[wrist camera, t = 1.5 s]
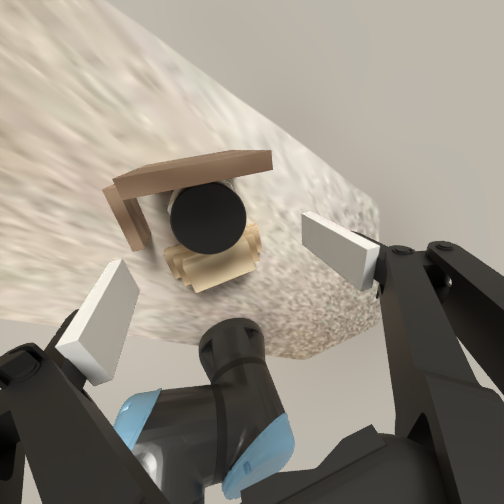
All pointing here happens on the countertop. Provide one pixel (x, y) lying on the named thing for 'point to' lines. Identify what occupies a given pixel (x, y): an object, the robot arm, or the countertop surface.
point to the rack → (175, 184)
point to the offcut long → (170, 251)
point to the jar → (207, 217)
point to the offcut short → (219, 266)
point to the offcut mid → (187, 253)
